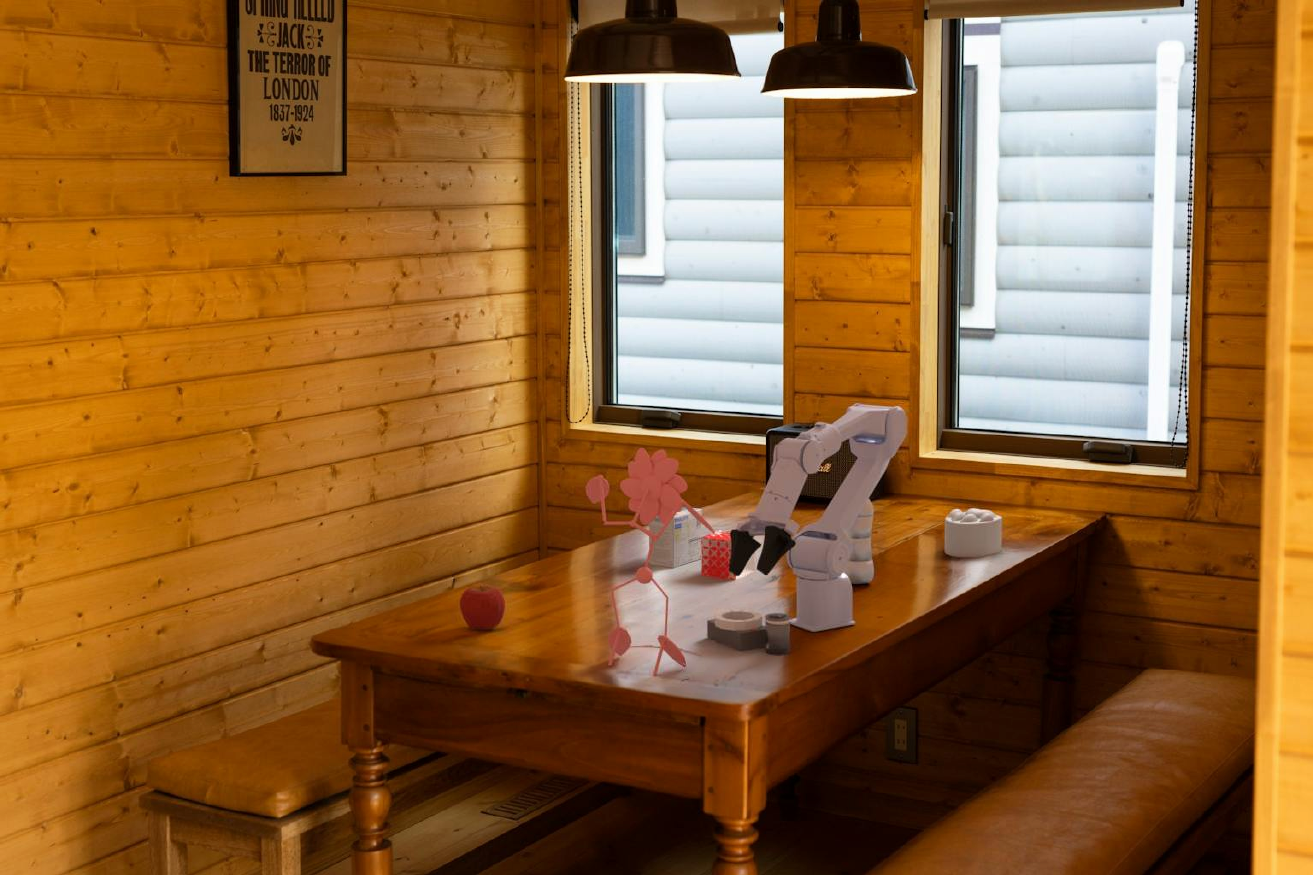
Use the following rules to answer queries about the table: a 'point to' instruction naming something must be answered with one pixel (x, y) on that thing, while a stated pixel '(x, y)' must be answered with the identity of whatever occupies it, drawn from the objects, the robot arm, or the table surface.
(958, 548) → the lumpy-topped squat cylinder
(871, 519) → the plastic bottle
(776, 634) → the lens
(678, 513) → the light bulb box
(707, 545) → the red patterned gift box
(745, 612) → the camera body
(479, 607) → the apple
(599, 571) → the table surface
